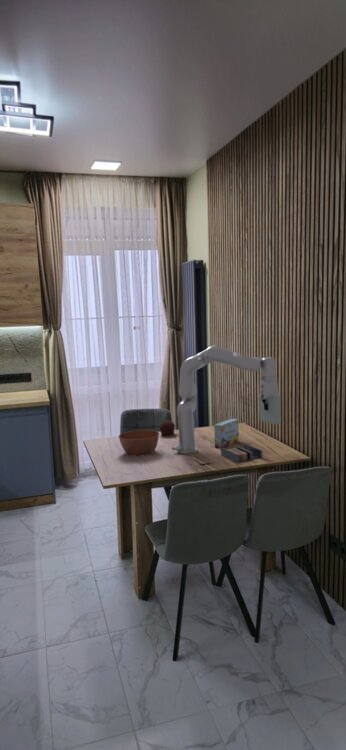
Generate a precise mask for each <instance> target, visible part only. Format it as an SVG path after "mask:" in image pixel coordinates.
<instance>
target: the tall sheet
mask: <svg viewBox="0 0 346 750" xmlns="http://www.w3.org/2000/svg"><path fill="white" fill-rule="evenodd" d="M259 397H260V394H259V395H258V398H259ZM262 399H263V398H262ZM267 404H268V411H267V410H264V403H263V402H262V401H261V400H259V399H258V406H259V407H258V408H259V409H258V412H259V414H258V415H259V420H260V421H263V422H266V423H268V424H272V425H280V424H282V416H281V414H282V409H281V397H269V399H268V401H267Z"/></svg>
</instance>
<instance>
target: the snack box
mask: <svg viewBox="0 0 346 750" xmlns="http://www.w3.org/2000/svg"><path fill="white" fill-rule="evenodd" d="M213 426H214V427H213V428H214V448H215V449H221V448H222V447H223V448H226V447H229V446H231V445H233V444H236V443H238V442H239V441H240V439H239V437H240V436H239V434H240V432H239V418H238V419H237V418H230V419H227V420H223V421H221V422H218V423H216V424H214V425H213Z"/></svg>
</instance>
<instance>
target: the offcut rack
mask: <svg viewBox="0 0 346 750" xmlns="http://www.w3.org/2000/svg"><path fill="white" fill-rule="evenodd" d="M233 448H236V449H238V450H240V451H243V452H245V453H247V460H243V461H239V455H238V454H236V453H234V452H232V451H229V450H227V449H228V448H226V447H224V448H223V447H222V448H220V456H222V457H224V458H226V459H228V460H229V461H232V462H234V463H236V464H240V463H244V462H249V461H255V460H259V459H263V454H264V453H263V450H262V449H260V448H257V447H255V446H253V445H250V444H248V443H243V447H241V446H239V445H236V444H235V445H234V446H233Z"/></svg>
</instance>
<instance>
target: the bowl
mask: <svg viewBox="0 0 346 750" xmlns="http://www.w3.org/2000/svg"><path fill="white" fill-rule="evenodd" d="M159 435H160V433H159V432H158V431H156V430H152V429H151V430H150V429H136V430H130V431H126V432H122V433H120V434H118V439H119V442H120V444H121V447H122V449H123V451H124V452H125V454H127V455H128V454H129V456H131V455H136V456H135V457H142V456H141V455H144V456H147V455H151V454H152V453H154V452H155V450H156V448H157V447H158V443H159V437H160V436H159Z"/></svg>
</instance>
